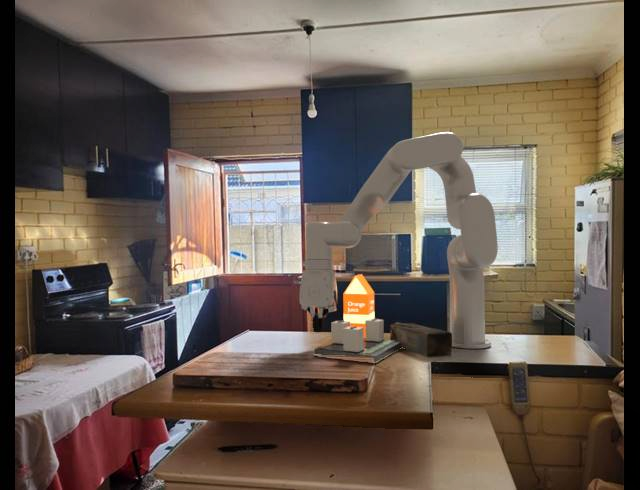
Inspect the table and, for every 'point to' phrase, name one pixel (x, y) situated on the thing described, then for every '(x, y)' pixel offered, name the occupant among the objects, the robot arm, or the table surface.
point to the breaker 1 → (353, 338)
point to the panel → (370, 350)
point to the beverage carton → (422, 339)
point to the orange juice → (358, 302)
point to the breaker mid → (338, 331)
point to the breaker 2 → (374, 330)
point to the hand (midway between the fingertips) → (318, 331)
